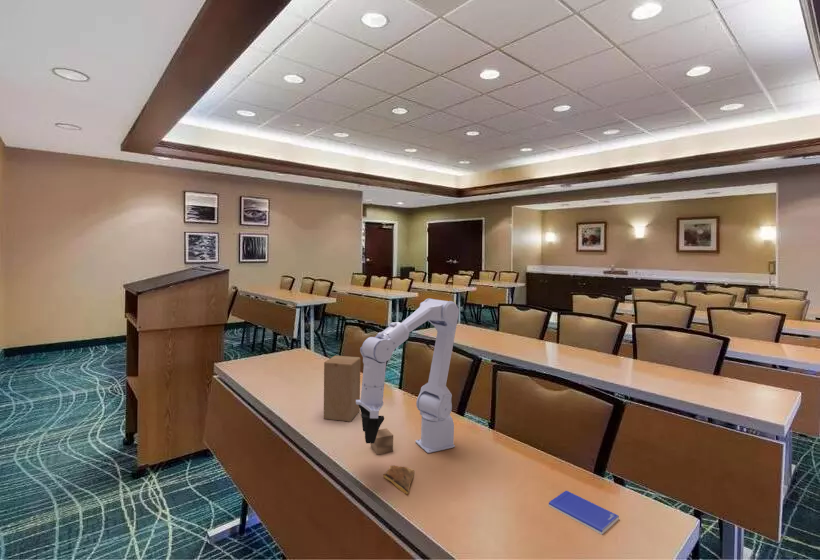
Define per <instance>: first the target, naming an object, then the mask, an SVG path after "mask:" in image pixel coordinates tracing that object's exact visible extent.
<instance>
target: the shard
mask: <svg viewBox="0 0 820 560" xmlns="http://www.w3.org/2000/svg"><path fill="white" fill-rule="evenodd" d="M414 474H415V469H414V468H410V467H408V466H399V465H389V467H388V470H387V471H386V472H385V473H384V474H383V478H384V479H385V480H388V481H389V482H391V483H392V485H394V486H395V487H396V488H397V489H398V490H399V491H400V492H402V493H404V494H406V495H409V492H410V487H411V483H412V481H413V478H414Z"/></svg>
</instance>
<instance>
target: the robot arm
mask: <svg viewBox="0 0 820 560" xmlns="http://www.w3.org/2000/svg"><path fill="white" fill-rule="evenodd" d="M459 315H460V310H459V307H458V305H457V304H456V302H454V301H452V300H449V301H448V300H443V299H442V300H441V299H434V298H426V299H425V300H424V301H421V302H420V303H419V307H418V308H417V309H416V310H415V311H414V312H413V311H412V312H411V314H410V315H409V316H408V317H406V318H405V319H404V320H402V321H401V322H399V321H395V322H393V321H392V322H391V323H389V326H387V327H386V328H385V329H384V330H382V331H379V332H378V333H377V334H376V335H375V336H369V337H367V338H366V339H365V340H364V341H363V343H362V345H361V347H360V349H359V352H360V354H361V357H362V363H363V367H362V368H363V370H362V381H361V382H362V383H361V390H360V400H356V404H357V405H359V407H360V416H361V423H362V424H361V426H362V430H363V431H362V432H363V433H364V440H365V443H366V444H371V443H374V442H375V439H376V436H377V433H378V430H380V427H381V425H382V424H383V422H384V420H385V417H384V415H379V414H380V413H379V412H380V410H381V409H382V408H383V406H384V391H385V382H386V381H385V379H386V369H387V368H386V367H387V361H389V360H390V359H391V357H392V355H393V353H394V352H395V349H396V348H398V347H399V346H401V345H402V344H404V342H406V341H407V340H408V339H409V337H410V333H411V332H413V330H415V329H417V328H419V327H420V326H422V325H423V324H425V323H426V322H429V323H430V324H431V325H432V326H433V327H434V328H435V330H436V336H435V337H436V338H435V343H434V349H433V353H432V354H433V355H432V360H431V364H430V371H429V375H428V382H426V383H425V384H424V385H422V386H421V387H420V391H419V394H418V396H417V397H416V402H415V404H416V408H417V410H418V411H419V415H420V416H421V425H420V429H421V430H420V432H421V433H420V439H415V443H416V444H417V445H418V446H419V447H420V448H421V449H423V450H424V452H426V453H427V454H431V453H435V452H439V451H444V450H448V449H452V448H455V447H456V445H455V444H454V443H455V441H454V439H455V437H454V435H455V424H454V420H453V417H452V415H451V413H452V409H453V404H452V397H453V395H452V392H451V391H450V390H449V388H448V387H447V380H448V375H449V370H450V365H451V358H452V353H453V347H454V342H455V335H456V331H457V325H458V321H459V320H458V319H459Z"/></svg>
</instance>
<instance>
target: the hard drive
mask: <svg viewBox="0 0 820 560" xmlns="http://www.w3.org/2000/svg"><path fill="white" fill-rule="evenodd" d="M548 507H549V508H552V509H553V510H554V511H557V512H558V513H560V514H562V515H564V516H566V517H568V518H569V519H572V520H574V521H576V522H577V523H579V524H581V525H582V526H585V527H586V528H588V529H590V530H592V531H594V532H596V533H598V534H599V535H603V534H605V533H606V532H607V531H608V530H609V529H610V528H611V527H612V526H613V525H614V524H616V523H617V522H618V521H619V520H620V516H619V515H618V514H616V513H614V512H612V511H610V510H608V509H606V508H604V507H602V506H599V505H597V504H596V503H593V502H591V501H589V500H587V499H586V498H583V497H581V496H579V495H577V494H574V493H572V492H570V491H569V490H565V491H563V492H562V493H560V494H559V495H557V496H556V497H554V498H552V499H551V500H550V501H549V502H548Z"/></svg>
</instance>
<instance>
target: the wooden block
mask: <svg viewBox="0 0 820 560" xmlns="http://www.w3.org/2000/svg"><path fill="white" fill-rule="evenodd" d="M323 370H324V371H323V419H324V420H330V421H331V420H332V421H341V422H342V421H343V422H348V423H349V422H352V420H353V419H354V418H355V417H356V415H358V414H359V412H361V410H360V407H359V405H357V404H356V400H361V357H359V356H346V355H334V356H332V357H331V358H329V359H327V360H325V361H324V362H323Z"/></svg>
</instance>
